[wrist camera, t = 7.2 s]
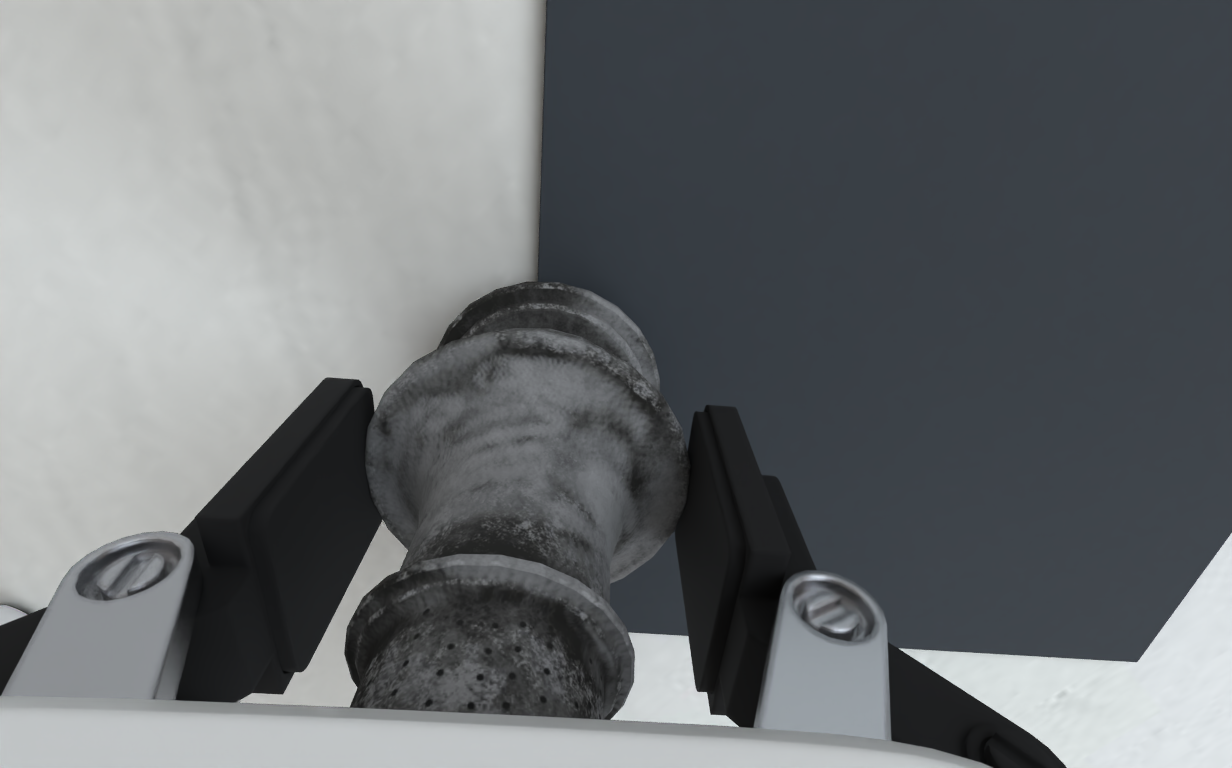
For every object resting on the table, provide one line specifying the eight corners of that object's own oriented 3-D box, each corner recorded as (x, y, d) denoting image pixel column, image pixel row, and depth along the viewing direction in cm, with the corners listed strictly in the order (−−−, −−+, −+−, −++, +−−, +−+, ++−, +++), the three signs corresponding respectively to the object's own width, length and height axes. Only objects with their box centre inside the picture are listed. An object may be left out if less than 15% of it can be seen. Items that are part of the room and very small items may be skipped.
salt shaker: (567, 211, 12) (264, 1174, 2) (720, 412, 14) (1037, 1385, 4) (365, 367, 14) (-480, 1384, 3) (532, 527, 16) (373, 1443, 5)
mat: (527, 618, 19) (526, 626, 19) (550, -88, 11) (549, -91, 11) (1130, 654, 20) (1137, 662, 20) (1577, 30, 12) (1600, 29, 11)
